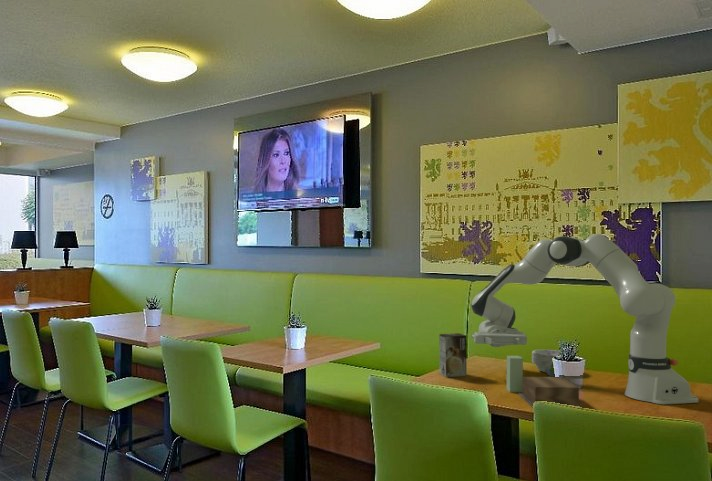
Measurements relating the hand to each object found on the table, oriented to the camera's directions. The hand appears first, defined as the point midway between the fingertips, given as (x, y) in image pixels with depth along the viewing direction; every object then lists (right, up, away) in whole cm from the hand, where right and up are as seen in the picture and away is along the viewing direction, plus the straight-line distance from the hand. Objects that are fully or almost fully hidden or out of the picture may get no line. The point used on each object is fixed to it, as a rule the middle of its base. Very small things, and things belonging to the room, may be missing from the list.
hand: (504, 342), depth 214 cm
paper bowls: (+24, -16, +19) cm, 34 cm away
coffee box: (-18, -15, +10) cm, 26 cm away
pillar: (0, -15, -12) cm, 20 cm away
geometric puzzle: (+20, -15, +3) cm, 26 cm away
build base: (+8, -15, -25) cm, 31 cm away
